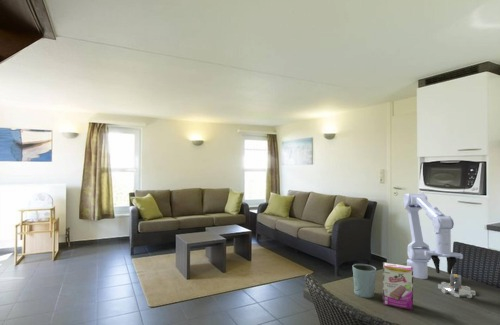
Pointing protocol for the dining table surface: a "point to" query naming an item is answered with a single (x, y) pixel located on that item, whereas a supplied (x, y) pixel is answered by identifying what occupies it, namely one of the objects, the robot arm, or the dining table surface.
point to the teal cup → (364, 280)
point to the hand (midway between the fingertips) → (443, 272)
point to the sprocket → (456, 289)
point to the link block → (455, 279)
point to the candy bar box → (398, 285)
